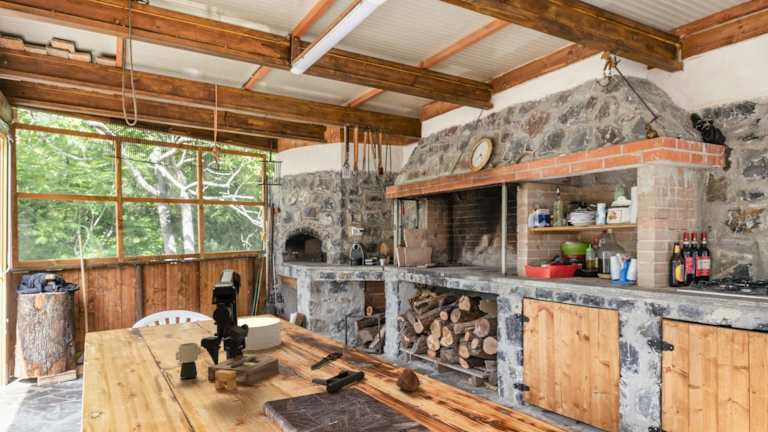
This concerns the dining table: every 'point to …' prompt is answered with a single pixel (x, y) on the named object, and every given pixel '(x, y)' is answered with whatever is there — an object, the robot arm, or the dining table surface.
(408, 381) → the fossil
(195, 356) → the character mug
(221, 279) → the robot arm
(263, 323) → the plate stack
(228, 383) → the tall grooved wooden block
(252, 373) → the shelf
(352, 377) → the door handle
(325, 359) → the knife
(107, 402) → the dining table surface
